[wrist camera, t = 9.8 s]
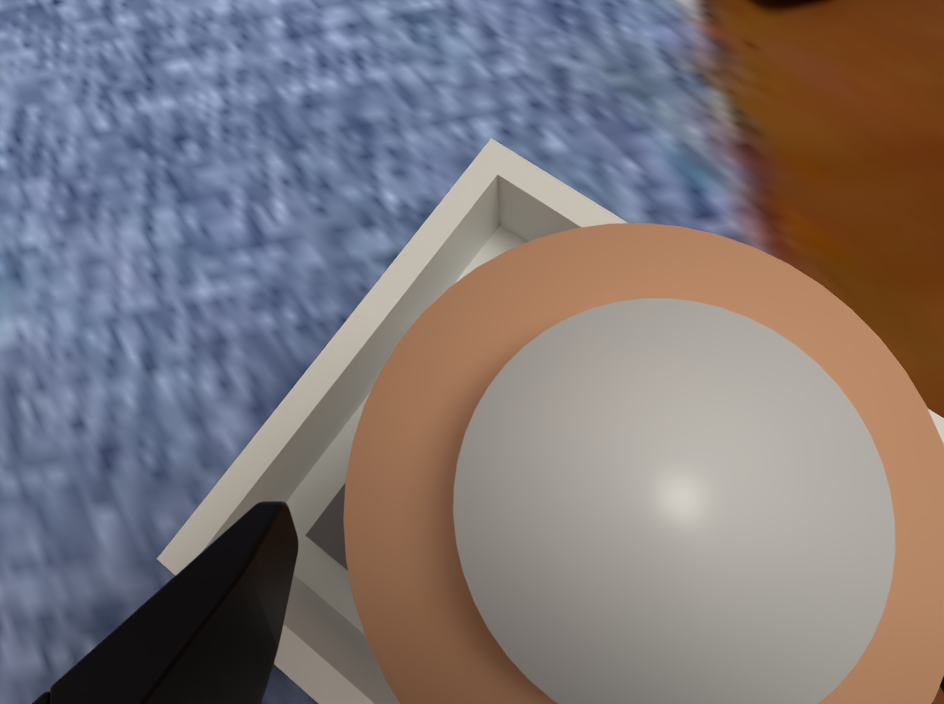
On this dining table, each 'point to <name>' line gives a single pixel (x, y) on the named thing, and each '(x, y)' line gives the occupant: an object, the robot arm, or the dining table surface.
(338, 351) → the walled box
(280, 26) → the dining table surface
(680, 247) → the peach bottle
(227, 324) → the dining table surface
